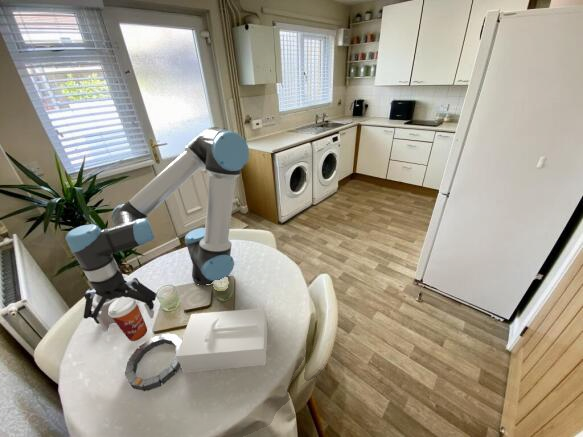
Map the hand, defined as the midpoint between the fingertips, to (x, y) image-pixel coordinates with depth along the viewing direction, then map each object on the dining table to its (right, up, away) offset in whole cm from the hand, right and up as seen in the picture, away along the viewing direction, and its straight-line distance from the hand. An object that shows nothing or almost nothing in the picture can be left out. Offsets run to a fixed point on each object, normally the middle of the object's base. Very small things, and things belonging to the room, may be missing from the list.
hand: (130, 321), depth 82 cm
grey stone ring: (+13, -10, -6) cm, 17 cm away
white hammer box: (+34, -8, -2) cm, 35 cm away
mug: (-12, -1, +13) cm, 17 cm away
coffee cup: (0, -6, +3) cm, 7 cm away
